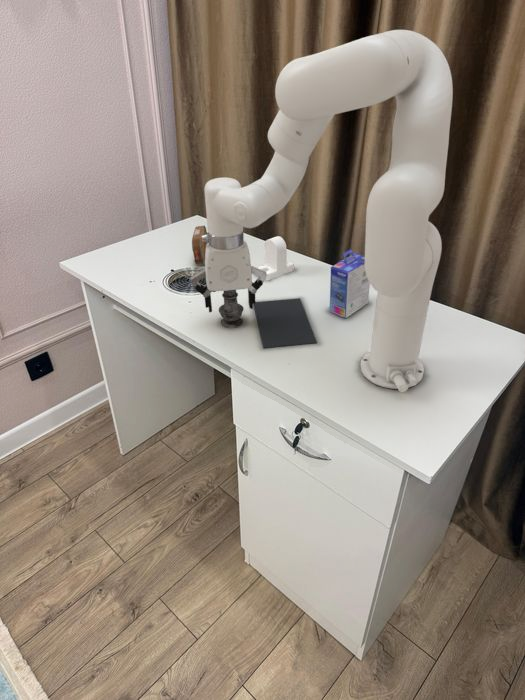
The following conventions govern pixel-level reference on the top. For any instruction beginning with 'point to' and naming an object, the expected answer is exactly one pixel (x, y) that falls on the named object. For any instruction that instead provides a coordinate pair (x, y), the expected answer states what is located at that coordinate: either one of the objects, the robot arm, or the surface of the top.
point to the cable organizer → (276, 258)
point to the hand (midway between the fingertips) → (230, 307)
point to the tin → (199, 244)
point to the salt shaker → (231, 310)
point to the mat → (283, 323)
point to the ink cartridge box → (349, 285)
